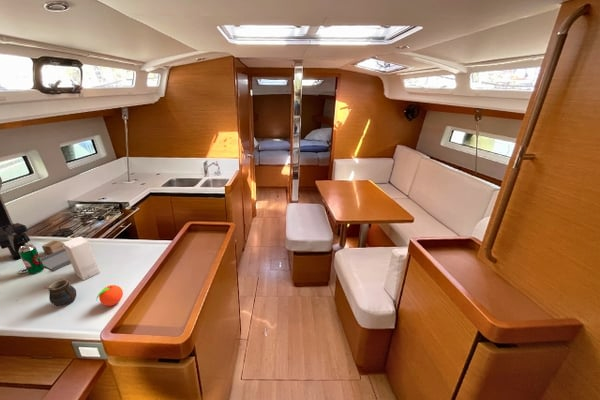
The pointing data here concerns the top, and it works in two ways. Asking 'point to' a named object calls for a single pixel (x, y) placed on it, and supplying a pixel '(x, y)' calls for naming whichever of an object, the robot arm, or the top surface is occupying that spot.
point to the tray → (56, 260)
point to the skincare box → (81, 257)
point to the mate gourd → (61, 293)
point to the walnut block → (52, 247)
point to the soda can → (31, 259)
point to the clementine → (110, 295)
